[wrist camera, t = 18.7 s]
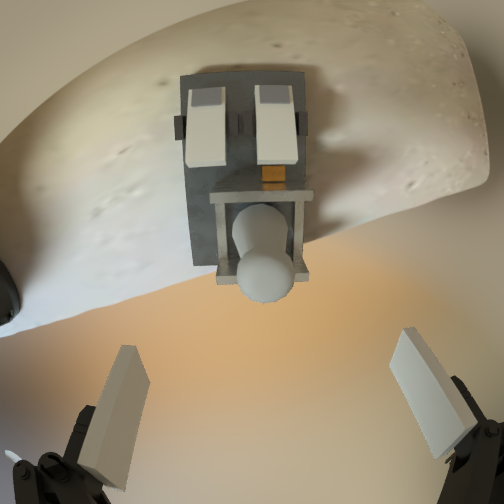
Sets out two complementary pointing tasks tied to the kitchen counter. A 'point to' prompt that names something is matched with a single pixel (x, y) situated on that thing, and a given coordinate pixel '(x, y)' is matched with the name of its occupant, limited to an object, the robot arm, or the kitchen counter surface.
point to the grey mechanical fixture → (243, 173)
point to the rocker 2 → (275, 125)
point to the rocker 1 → (206, 127)
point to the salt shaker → (263, 254)
